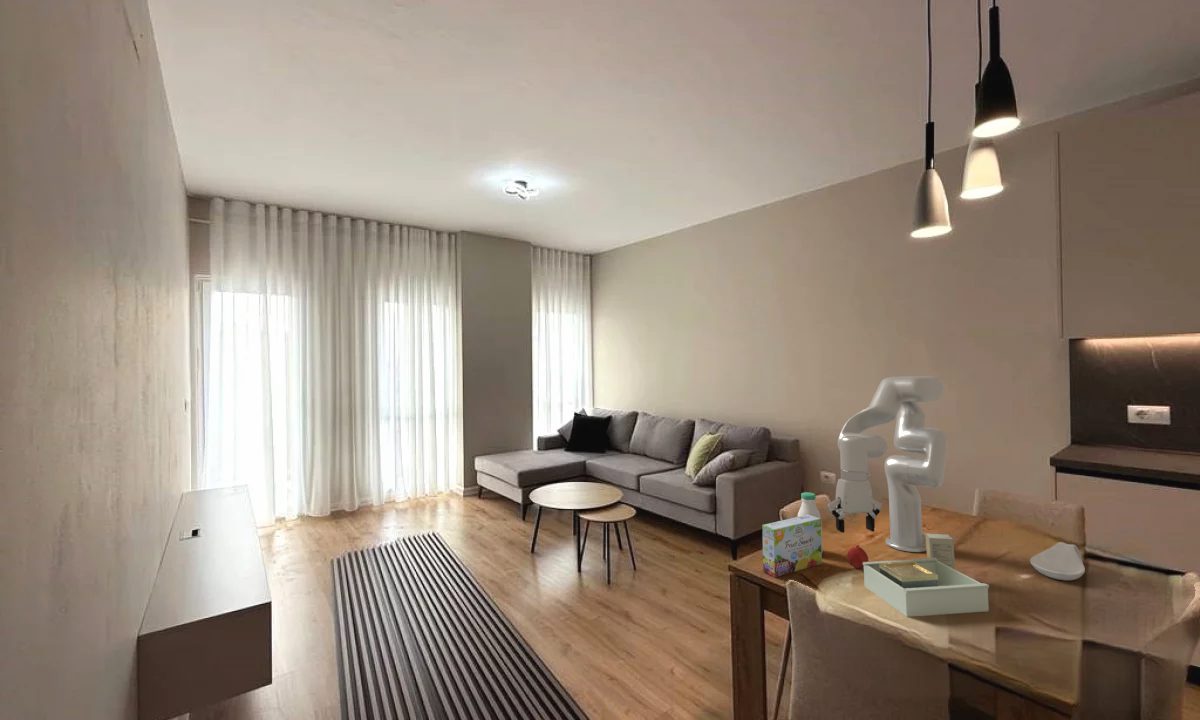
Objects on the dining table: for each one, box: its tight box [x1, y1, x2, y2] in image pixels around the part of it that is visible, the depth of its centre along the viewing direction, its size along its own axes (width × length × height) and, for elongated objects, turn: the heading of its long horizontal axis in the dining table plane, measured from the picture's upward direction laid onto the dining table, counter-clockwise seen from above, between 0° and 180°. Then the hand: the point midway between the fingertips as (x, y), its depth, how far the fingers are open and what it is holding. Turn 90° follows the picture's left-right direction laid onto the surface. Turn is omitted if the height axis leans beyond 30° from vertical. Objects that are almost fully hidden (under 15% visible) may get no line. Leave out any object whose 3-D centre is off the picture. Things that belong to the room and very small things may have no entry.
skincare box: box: [924, 532, 956, 570], centre depth 144 cm, size 6×4×12 cm
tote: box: [863, 557, 990, 618], centre depth 130 cm, size 22×18×7 cm
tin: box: [879, 561, 938, 589], centre depth 129 cm, size 10×9×8 cm
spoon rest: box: [1029, 541, 1086, 582], centre depth 145 cm, size 24×12×7 cm, turn 126°
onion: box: [846, 543, 869, 570], centre depth 150 cm, size 6×6×8 cm
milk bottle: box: [797, 491, 824, 553], centre depth 166 cm, size 8×8×20 cm
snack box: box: [761, 515, 823, 578], centre depth 153 cm, size 21×6×15 cm, turn 117°
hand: (855, 530), depth 150 cm, fingers open, 9 cm apart
